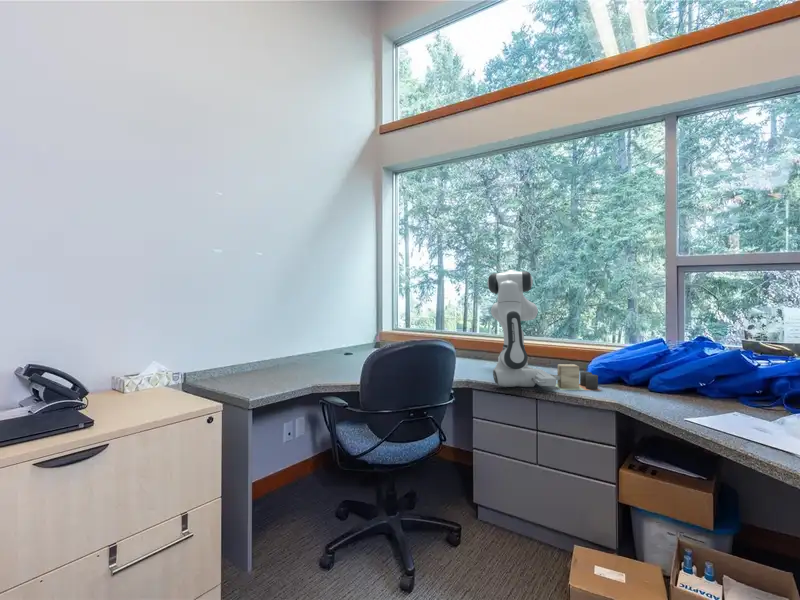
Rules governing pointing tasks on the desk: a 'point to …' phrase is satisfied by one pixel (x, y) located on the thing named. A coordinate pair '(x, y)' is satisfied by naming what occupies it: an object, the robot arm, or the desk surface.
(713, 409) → the desk surface
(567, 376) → the birch block
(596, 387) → the post
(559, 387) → the lane mat
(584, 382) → the post
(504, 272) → the robot arm
